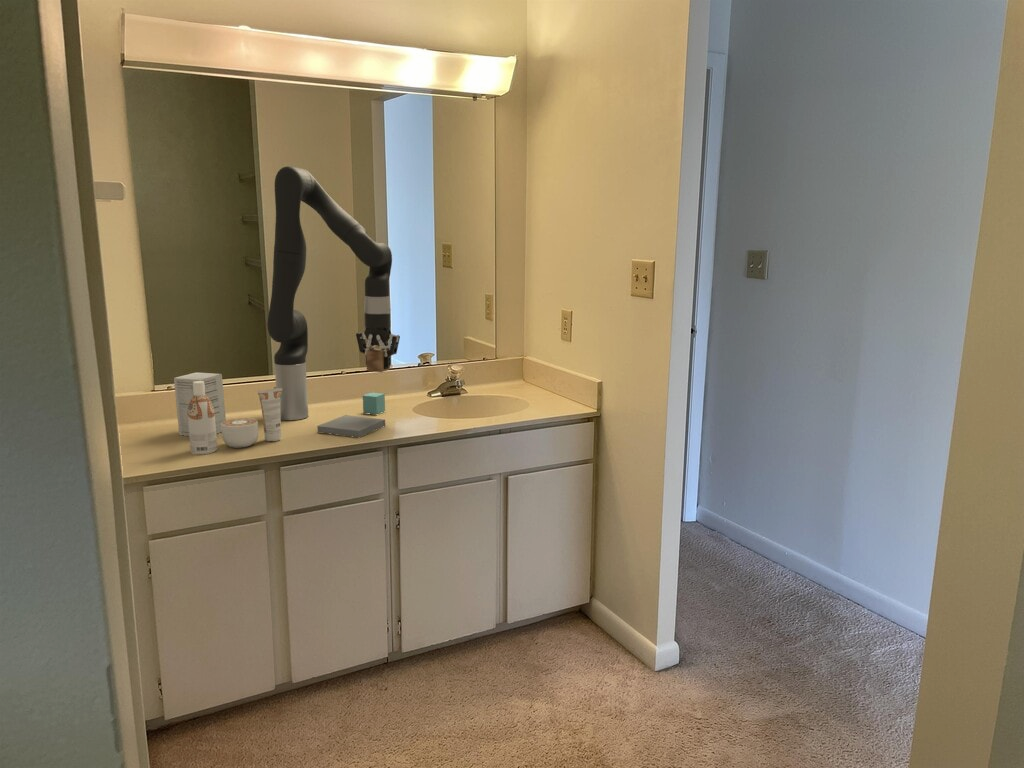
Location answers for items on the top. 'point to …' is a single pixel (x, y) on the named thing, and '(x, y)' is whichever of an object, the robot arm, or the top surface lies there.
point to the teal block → (373, 403)
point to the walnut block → (375, 360)
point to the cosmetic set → (231, 422)
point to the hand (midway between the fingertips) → (378, 367)
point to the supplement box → (186, 393)
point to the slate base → (351, 425)
